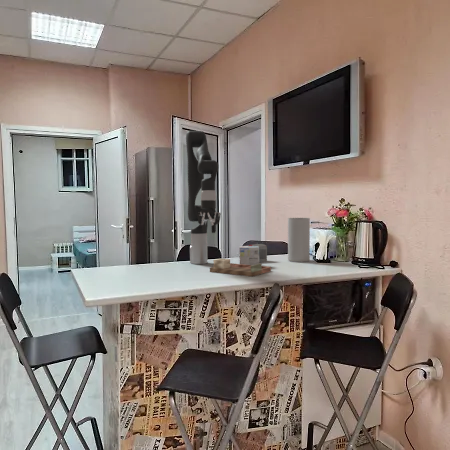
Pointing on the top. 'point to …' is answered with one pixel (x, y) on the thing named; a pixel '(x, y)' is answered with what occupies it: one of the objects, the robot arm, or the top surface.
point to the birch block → (222, 263)
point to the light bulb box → (249, 255)
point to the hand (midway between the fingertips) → (208, 232)
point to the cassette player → (262, 252)
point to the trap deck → (242, 269)
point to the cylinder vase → (299, 239)
